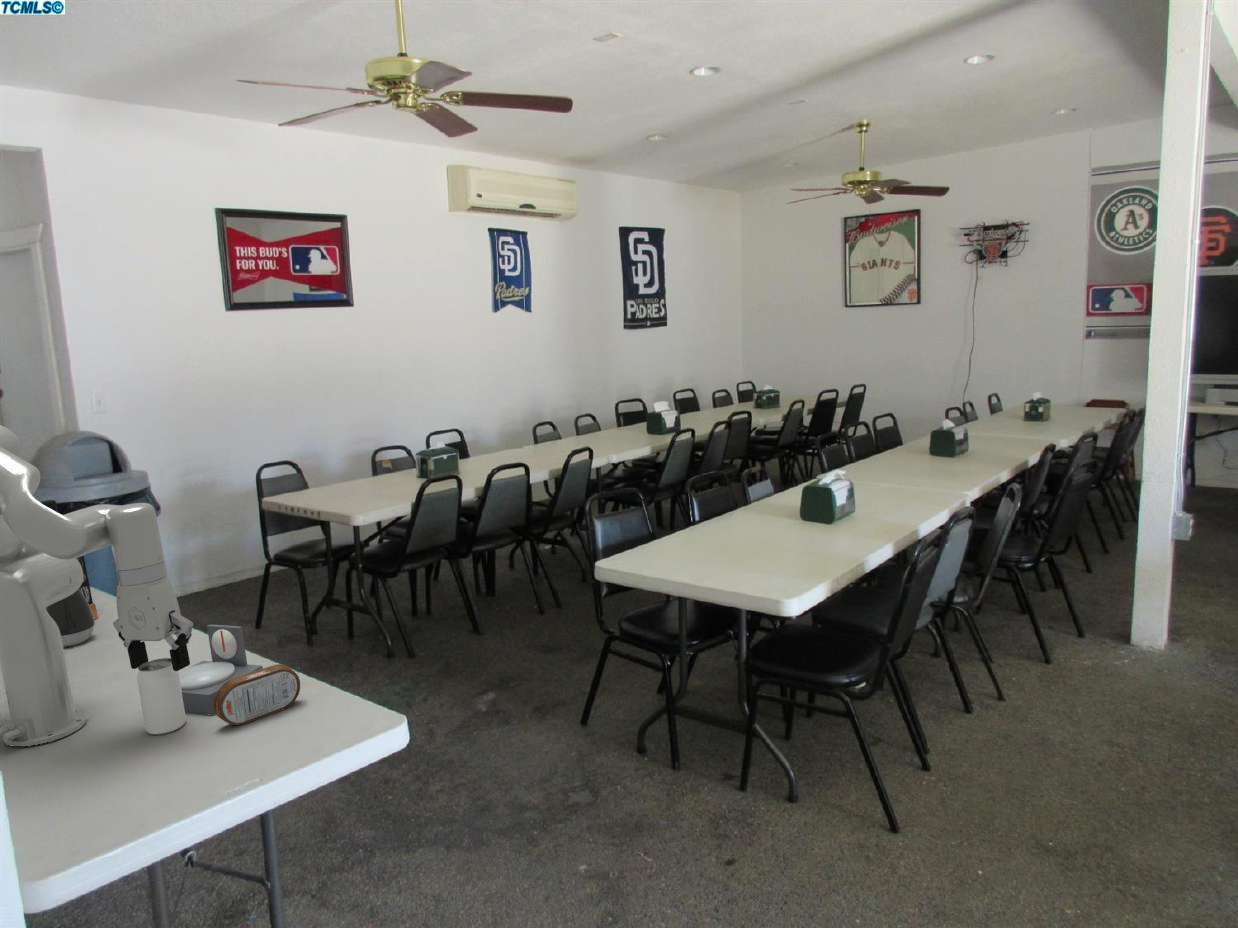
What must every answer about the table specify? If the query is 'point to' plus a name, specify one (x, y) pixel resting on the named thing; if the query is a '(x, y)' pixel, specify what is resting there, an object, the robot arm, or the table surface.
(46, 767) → the table surface
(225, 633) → the scale
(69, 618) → the pump dispenser
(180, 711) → the can
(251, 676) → the tin
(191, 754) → the table surface
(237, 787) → the table surface
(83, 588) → the whiskey bottle
